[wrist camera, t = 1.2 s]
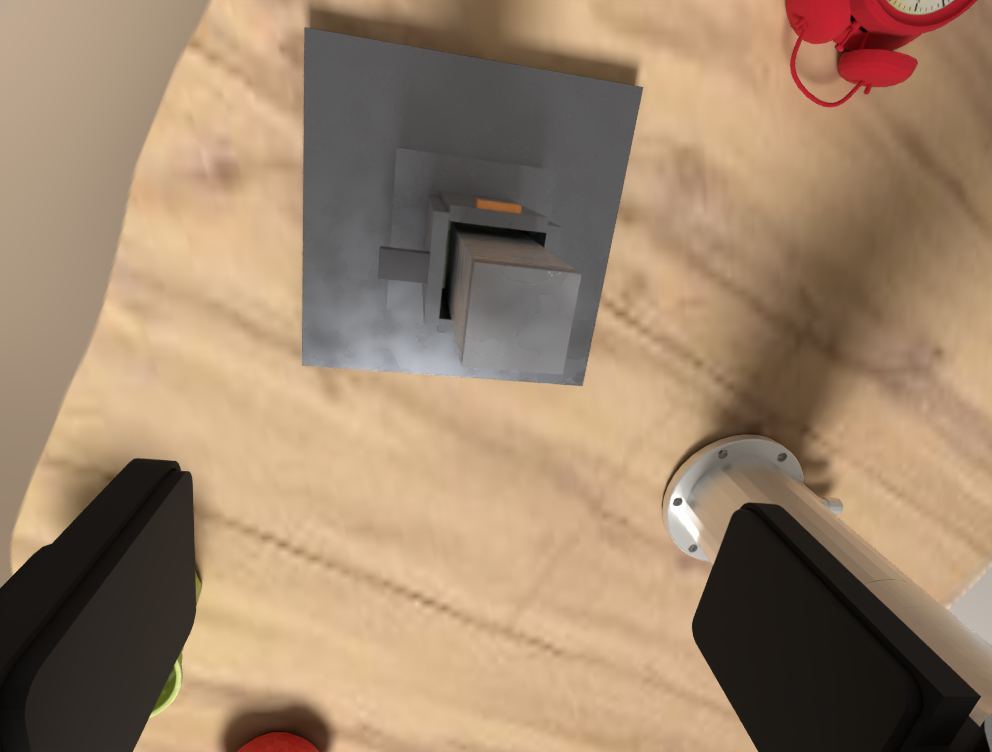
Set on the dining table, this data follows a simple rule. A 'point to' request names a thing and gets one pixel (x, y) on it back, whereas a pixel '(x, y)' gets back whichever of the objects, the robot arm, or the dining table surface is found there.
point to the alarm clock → (868, 35)
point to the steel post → (508, 299)
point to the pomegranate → (278, 743)
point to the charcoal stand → (445, 193)
